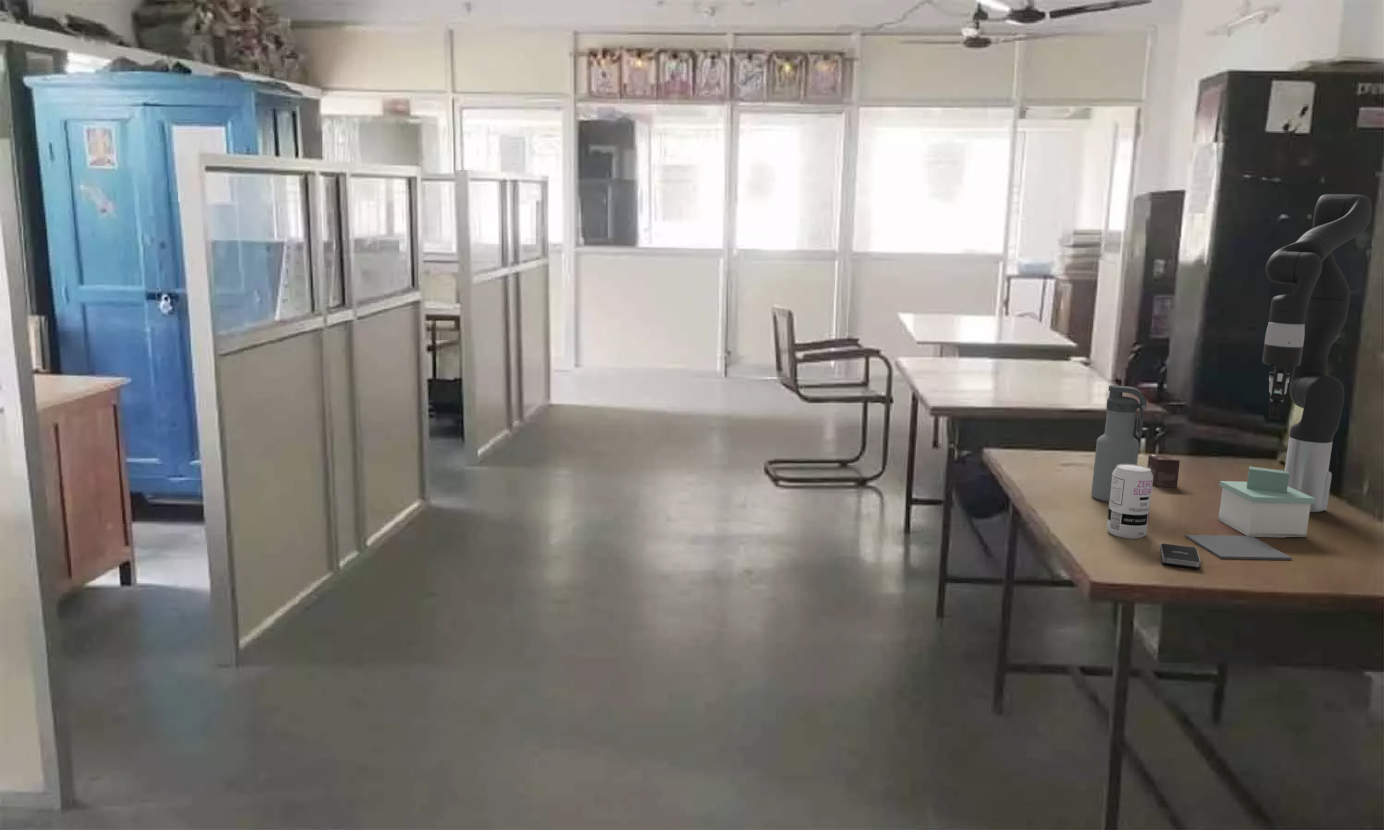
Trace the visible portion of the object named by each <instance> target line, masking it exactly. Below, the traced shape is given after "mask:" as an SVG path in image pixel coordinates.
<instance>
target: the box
mask: <svg viewBox="0 0 1384 830" xmlns="http://www.w3.org/2000/svg"><path fill="white" fill-rule="evenodd" d="M1180 462H1181V460H1180V459H1178V458H1176V457H1174V456H1172V455H1171V454H1148V459H1147V466H1146V467H1148V468H1150V469H1151V473H1152V475H1153V483H1152V486H1153V487H1163V488H1164V487H1166V488H1168V487H1169V488H1176V487H1178V481H1179V473H1180V464H1181V463H1180Z"/></svg>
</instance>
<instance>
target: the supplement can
mask: <svg viewBox="0 0 1384 830" xmlns="http://www.w3.org/2000/svg"><path fill="white" fill-rule="evenodd" d="M1152 483H1153V475H1152V473H1151V469H1150V468H1148V467H1147V466H1144V465H1140V464H1137V465H1134V464H1119V465H1117V466H1116V468H1115V470H1114V471H1113V473H1112V483H1111V492H1110V501H1109V502H1108V513H1107V520H1106V530H1107V531H1108V532H1109V534H1111V535H1113V536H1114V537H1115V536H1116V537H1119V538H1123V539H1134V540H1135V539H1136V540H1137V539H1141V538H1143V537H1144V536H1146V535H1147V533H1148V524H1149V516H1150V508H1151V498H1152V492H1153V491H1152V489H1153V485H1152Z"/></svg>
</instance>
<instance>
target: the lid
mask: <svg viewBox="0 0 1384 830" xmlns="http://www.w3.org/2000/svg"><path fill="white" fill-rule="evenodd" d="M1247 473H1248V474H1247V479H1246V480H1247V481H1229V480H1227V481H1226V480H1220V481H1219V485H1218V486H1219V487H1220V488H1224V489H1226V490H1228V491H1230V492H1232V493H1234V494H1236V495H1239V496H1241V497H1243V498H1245V499H1247V500H1249V501H1251V502H1259V503H1308V504H1315V498H1313V497H1311V496H1309V495H1306V494H1304V493H1302V492H1300V491H1297V490H1295V489H1293V488H1290V487H1288V480H1289V471H1285V470H1282V469H1274V468H1273V469H1272V468H1265V467H1256V466H1248V472H1247Z"/></svg>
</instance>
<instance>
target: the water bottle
mask: <svg viewBox="0 0 1384 830" xmlns="http://www.w3.org/2000/svg"><path fill="white" fill-rule="evenodd" d="M1108 391H1109V394H1108V398H1107V399H1106V407H1105V410H1106V419H1105V426H1104V433H1103V434H1102V435H1100V436H1099V437H1097V439H1096V447H1095V454H1094V455H1095V456H1094V463H1093V475H1092V484H1091V492H1090V493H1091V496H1092V497H1093V498H1094V499H1096V500H1098V501H1102V502H1105V503H1109V501H1110V492H1111V483H1112V473H1113V471H1114V470H1115V468H1116V466H1117V465H1119V464H1134V465H1138V460H1139V459H1138V458H1139V450H1140V443H1139V441H1138V439H1136V438H1135V437H1134V432H1135V434H1136V437H1137V438H1140V439H1141V438H1142V436H1143V427H1144V411H1145V410H1146V409H1147V399H1146V397H1145V395H1144V394H1143V393H1142V391H1141V390H1140V389H1137V388H1136V387H1133V386H1127V385H1126V386H1124V385H1115V384H1113V385H1109V386H1108ZM1123 393H1124V394H1132V395H1135V396H1136V397H1137V398H1138V399H1139V401H1138V400H1137V399H1136V398H1133V397H1131V396H1125V395H1123ZM1138 409H1139V411H1138ZM1137 412H1138V414H1137ZM1136 414H1137V419H1136ZM1135 420H1136V430H1135ZM1134 430H1135V431H1134Z"/></svg>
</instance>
